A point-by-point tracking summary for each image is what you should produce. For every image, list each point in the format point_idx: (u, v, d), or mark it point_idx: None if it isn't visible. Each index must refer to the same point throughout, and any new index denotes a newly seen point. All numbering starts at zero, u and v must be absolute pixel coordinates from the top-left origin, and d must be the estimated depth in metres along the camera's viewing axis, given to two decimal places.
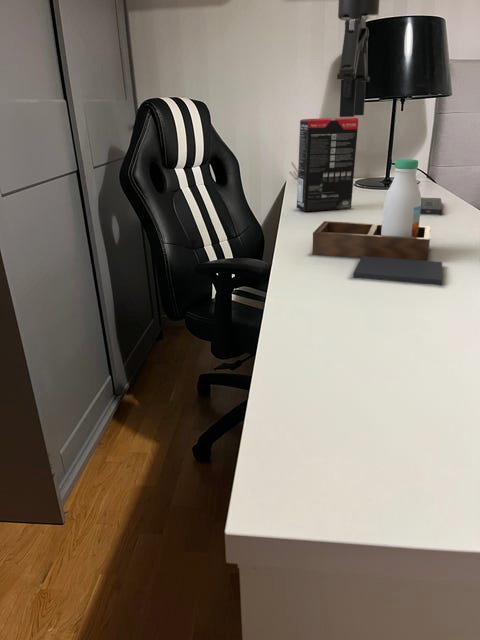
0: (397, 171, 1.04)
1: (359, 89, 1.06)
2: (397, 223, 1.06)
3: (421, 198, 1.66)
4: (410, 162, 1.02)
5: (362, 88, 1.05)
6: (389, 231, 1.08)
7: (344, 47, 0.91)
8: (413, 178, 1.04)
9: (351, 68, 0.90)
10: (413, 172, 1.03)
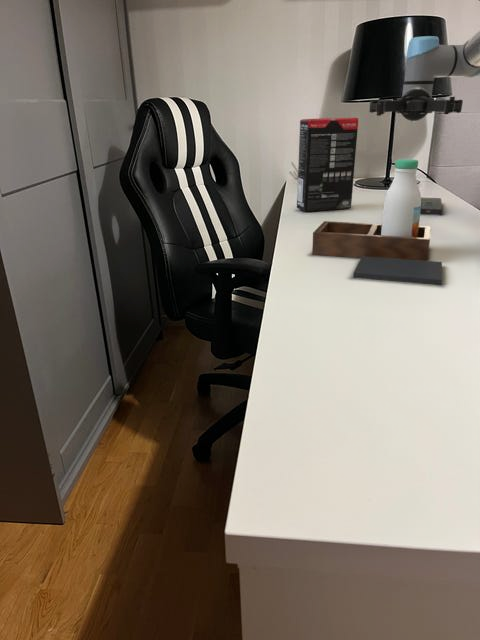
0: (397, 171, 1.04)
1: None
2: (397, 223, 1.06)
3: (421, 198, 1.66)
4: (410, 162, 1.02)
5: (445, 102, 1.11)
6: (389, 231, 1.08)
7: None
8: (413, 178, 1.04)
9: None
10: (413, 172, 1.03)
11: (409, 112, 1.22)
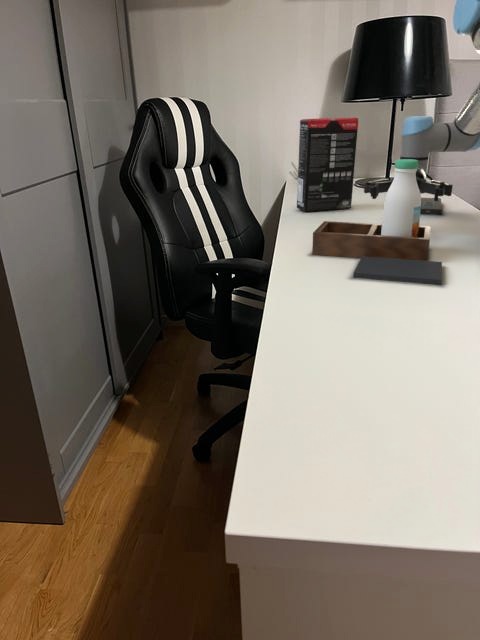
0: (397, 171, 1.04)
1: None
2: (397, 223, 1.06)
3: (421, 198, 1.66)
4: (410, 162, 1.02)
5: None
6: (389, 231, 1.08)
7: None
8: (413, 178, 1.04)
9: (365, 183, 1.24)
10: (413, 172, 1.03)
11: None
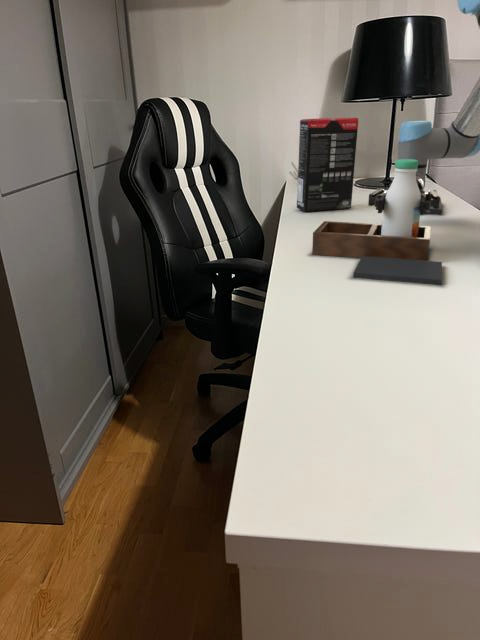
0: (397, 171, 1.04)
1: None
2: (397, 223, 1.06)
3: None
4: (410, 162, 1.02)
5: None
6: (389, 231, 1.08)
7: None
8: (413, 178, 1.04)
9: None
10: (413, 172, 1.03)
11: None
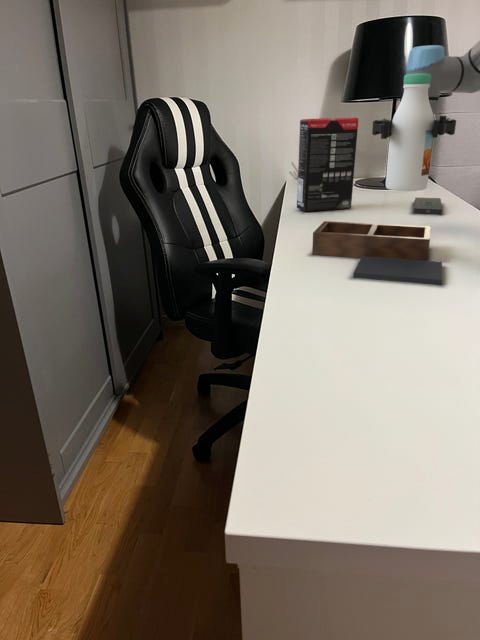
0: (406, 87, 0.89)
1: None
2: (406, 149, 0.91)
3: (421, 198, 1.66)
4: (422, 75, 0.87)
5: None
6: (397, 160, 0.92)
7: None
8: (425, 95, 0.89)
9: None
10: (425, 88, 0.88)
11: None
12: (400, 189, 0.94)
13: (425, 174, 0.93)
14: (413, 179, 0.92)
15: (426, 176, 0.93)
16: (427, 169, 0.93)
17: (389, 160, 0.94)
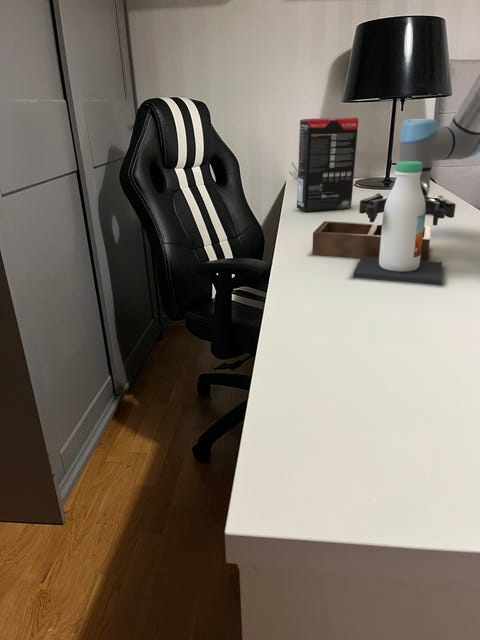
0: (398, 175, 0.91)
1: None
2: (398, 233, 0.93)
3: None
4: (413, 164, 0.89)
5: (434, 207, 0.94)
6: (389, 242, 0.95)
7: None
8: (417, 183, 0.91)
9: None
10: (417, 176, 0.91)
11: None
12: (393, 269, 0.96)
13: (417, 255, 0.95)
14: (405, 261, 0.95)
15: (418, 257, 0.96)
16: (419, 251, 0.95)
17: (382, 241, 0.97)
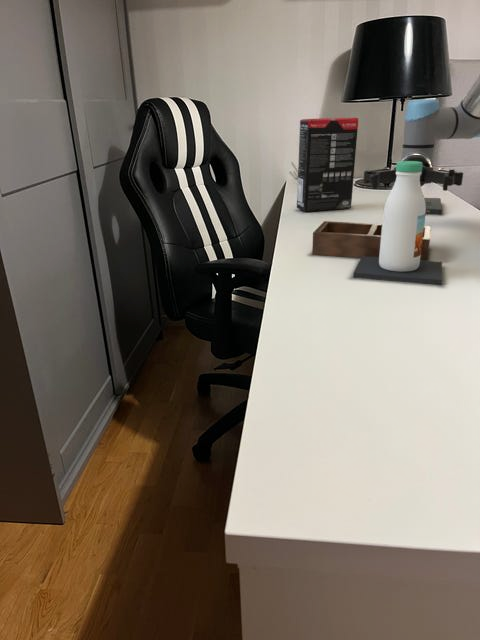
0: (398, 175, 0.91)
1: None
2: (398, 233, 0.93)
3: None
4: (413, 164, 0.89)
5: (444, 175, 1.03)
6: (389, 242, 0.95)
7: None
8: (417, 183, 0.91)
9: None
10: (417, 176, 0.91)
11: None
12: (393, 269, 0.96)
13: (417, 255, 0.95)
14: (405, 261, 0.95)
15: (418, 257, 0.96)
16: (419, 251, 0.95)
17: (382, 241, 0.97)
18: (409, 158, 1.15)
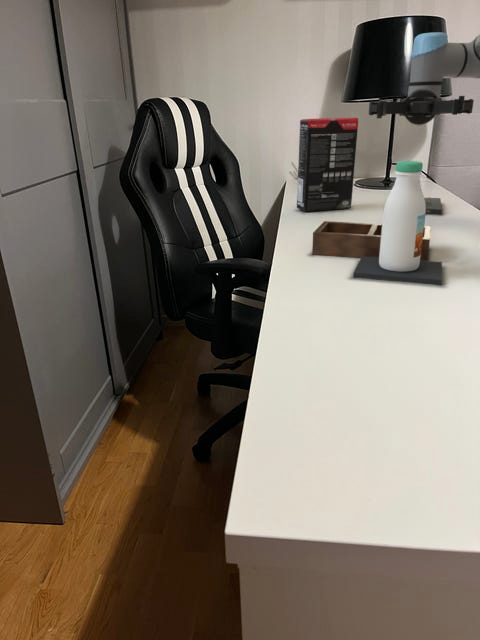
0: (398, 175, 0.91)
1: (453, 105, 0.98)
2: (398, 233, 0.93)
3: None
4: (413, 164, 0.89)
5: None
6: (389, 242, 0.95)
7: None
8: (417, 183, 0.91)
9: None
10: (417, 176, 0.91)
11: (414, 115, 1.09)
12: (393, 269, 0.96)
13: (417, 255, 0.95)
14: (405, 261, 0.95)
15: (418, 257, 0.96)
16: (419, 251, 0.95)
17: (382, 241, 0.97)
18: (416, 91, 1.10)
